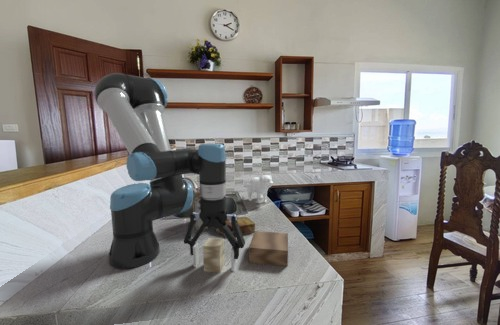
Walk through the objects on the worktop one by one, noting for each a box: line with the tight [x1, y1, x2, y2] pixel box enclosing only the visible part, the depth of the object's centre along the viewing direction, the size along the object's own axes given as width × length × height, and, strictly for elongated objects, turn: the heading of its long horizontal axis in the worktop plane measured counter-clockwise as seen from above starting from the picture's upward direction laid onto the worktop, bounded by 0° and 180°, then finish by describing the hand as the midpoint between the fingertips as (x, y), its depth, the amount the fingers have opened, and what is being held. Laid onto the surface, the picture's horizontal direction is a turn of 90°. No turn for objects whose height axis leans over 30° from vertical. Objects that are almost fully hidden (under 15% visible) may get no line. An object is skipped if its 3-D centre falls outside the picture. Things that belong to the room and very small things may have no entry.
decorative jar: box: [192, 186, 210, 231], centre depth 102 cm, size 12×12×18 cm
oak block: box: [202, 237, 226, 274], centre depth 70 cm, size 5×5×8 cm
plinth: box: [248, 230, 289, 267], centre depth 77 cm, size 12×12×5 cm
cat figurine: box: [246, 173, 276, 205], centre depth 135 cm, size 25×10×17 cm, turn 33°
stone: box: [215, 216, 256, 235], centre depth 96 cm, size 15×9×5 cm, turn 104°
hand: (214, 266), depth 70 cm, fingers open, 11 cm apart
